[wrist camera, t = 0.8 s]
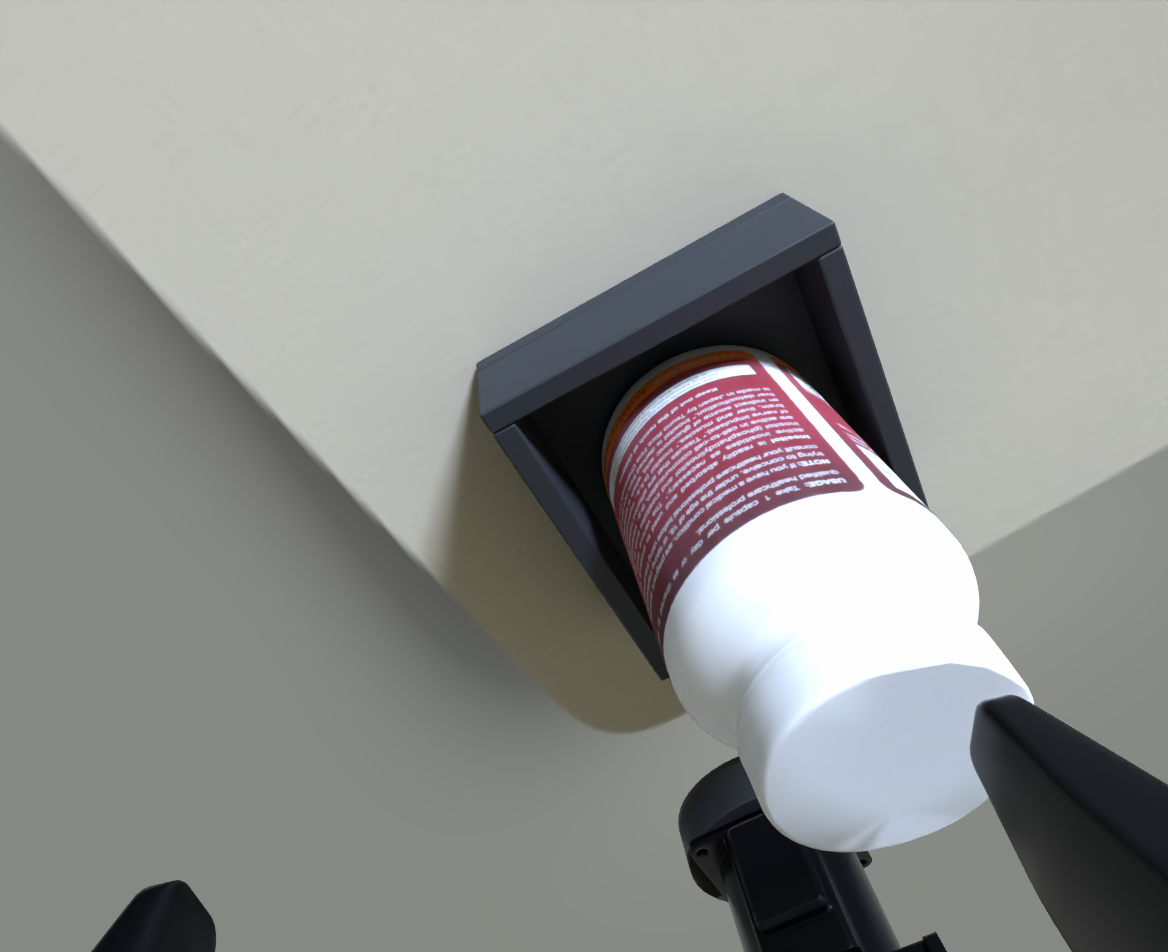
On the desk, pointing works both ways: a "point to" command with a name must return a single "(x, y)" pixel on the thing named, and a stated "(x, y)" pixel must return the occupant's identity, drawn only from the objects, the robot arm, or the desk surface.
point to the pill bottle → (802, 600)
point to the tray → (666, 329)
